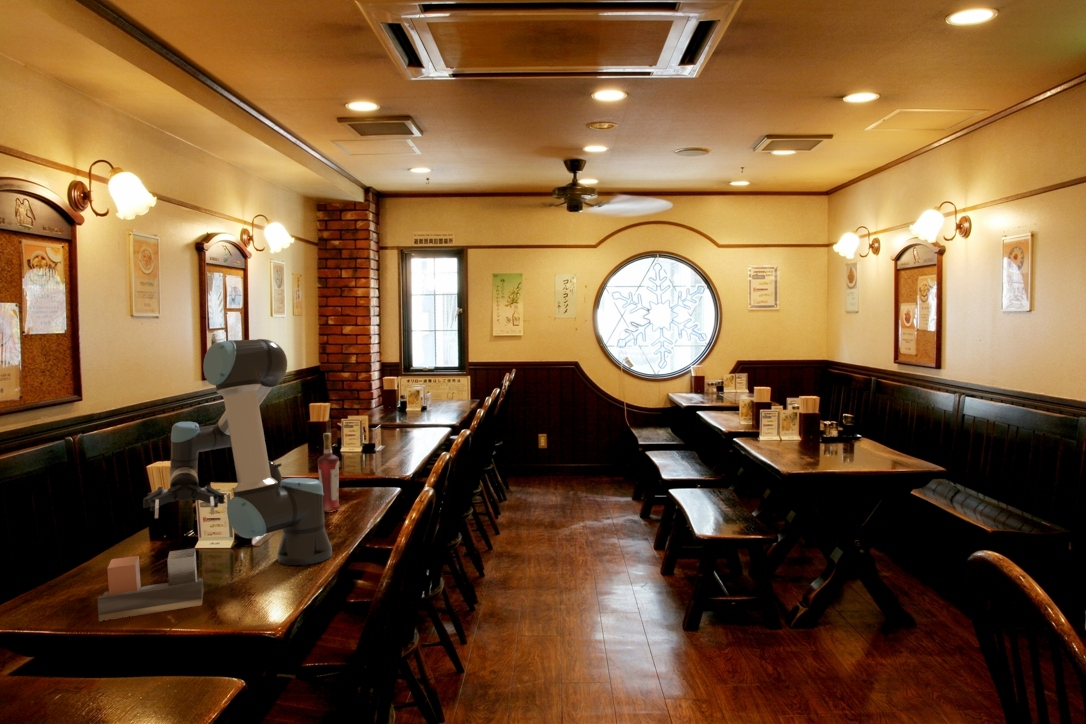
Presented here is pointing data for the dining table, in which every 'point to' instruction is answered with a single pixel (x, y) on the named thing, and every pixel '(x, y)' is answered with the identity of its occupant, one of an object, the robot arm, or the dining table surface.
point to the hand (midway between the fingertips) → (185, 511)
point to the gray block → (182, 567)
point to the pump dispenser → (275, 472)
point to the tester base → (150, 600)
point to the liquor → (329, 475)
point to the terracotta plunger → (124, 575)
